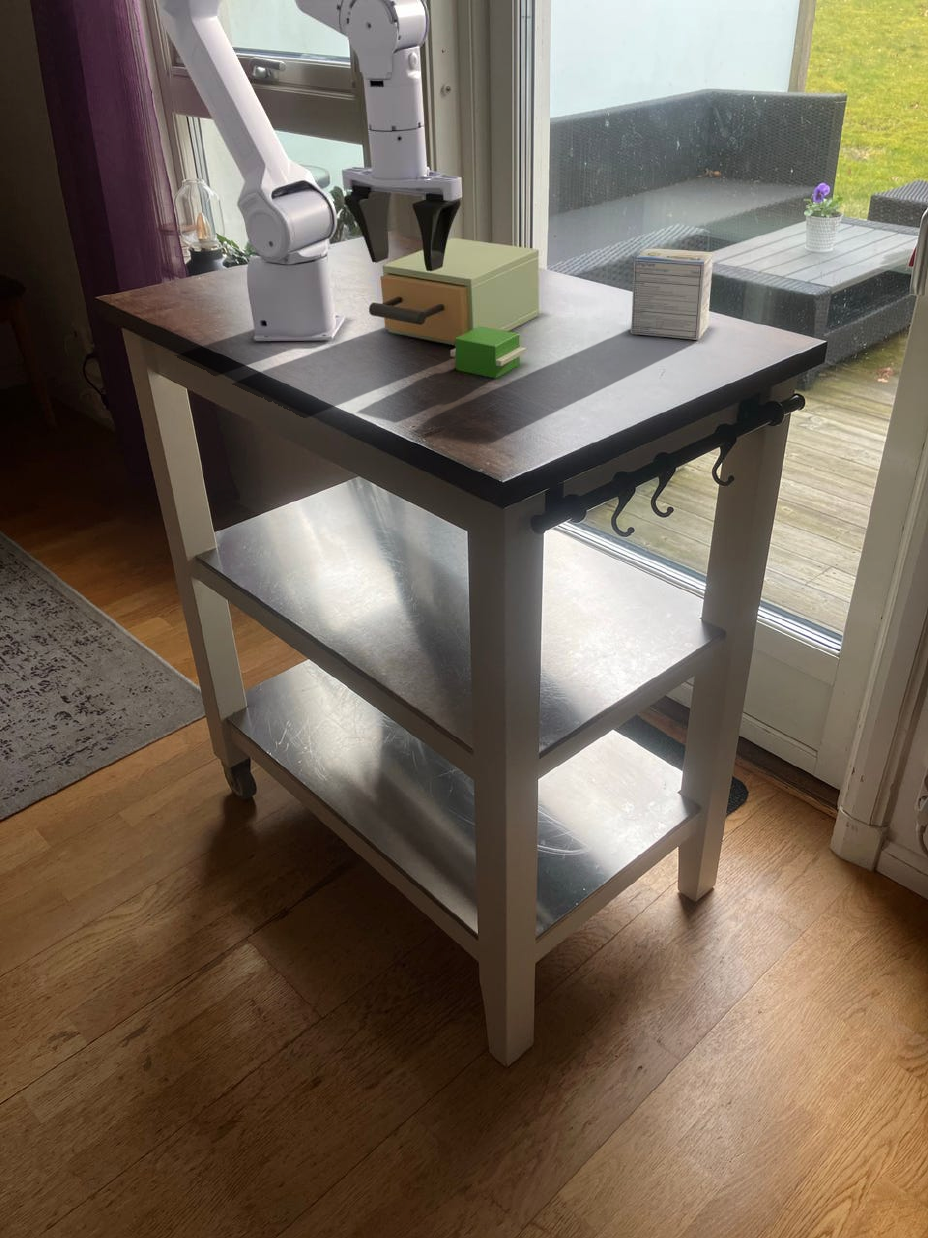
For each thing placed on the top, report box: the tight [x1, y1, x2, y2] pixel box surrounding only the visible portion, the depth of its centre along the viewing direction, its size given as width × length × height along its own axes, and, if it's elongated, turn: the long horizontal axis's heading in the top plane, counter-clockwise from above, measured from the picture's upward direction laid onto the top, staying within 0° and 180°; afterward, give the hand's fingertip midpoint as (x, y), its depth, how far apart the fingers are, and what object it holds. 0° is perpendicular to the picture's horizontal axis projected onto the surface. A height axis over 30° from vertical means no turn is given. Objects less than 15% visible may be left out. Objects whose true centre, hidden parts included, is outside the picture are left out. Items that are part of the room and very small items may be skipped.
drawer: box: [368, 274, 469, 342], centre depth 116 cm, size 17×11×6 cm, turn 144°
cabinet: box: [382, 237, 540, 346], centre depth 119 cm, size 14×13×8 cm
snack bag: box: [449, 326, 526, 379], centre depth 108 cm, size 7×5×4 cm
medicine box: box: [630, 248, 714, 341], centre depth 113 cm, size 8×4×9 cm, turn 65°
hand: (406, 264), depth 110 cm, fingers open, 7 cm apart
